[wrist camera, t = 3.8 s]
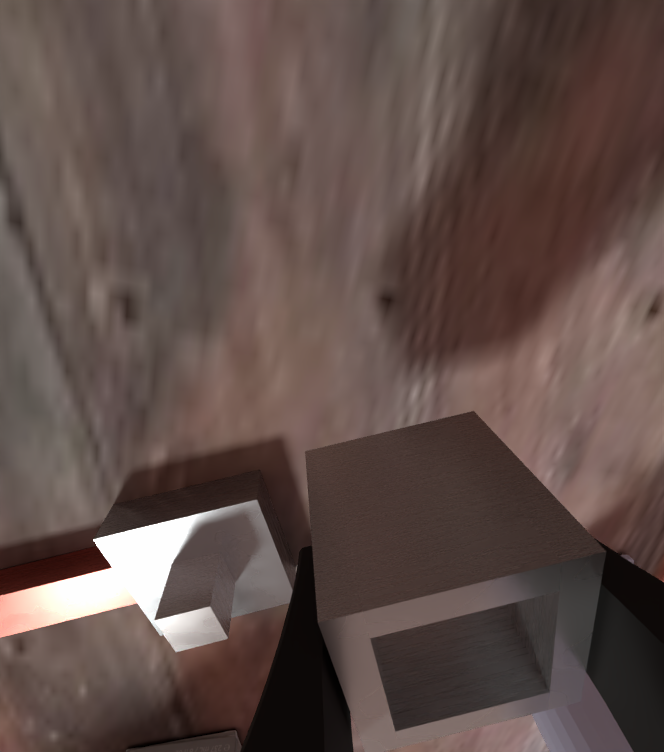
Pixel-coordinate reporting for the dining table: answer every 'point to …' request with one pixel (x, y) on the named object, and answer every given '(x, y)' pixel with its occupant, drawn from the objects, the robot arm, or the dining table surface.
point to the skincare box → (198, 744)
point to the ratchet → (165, 565)
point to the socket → (447, 582)
